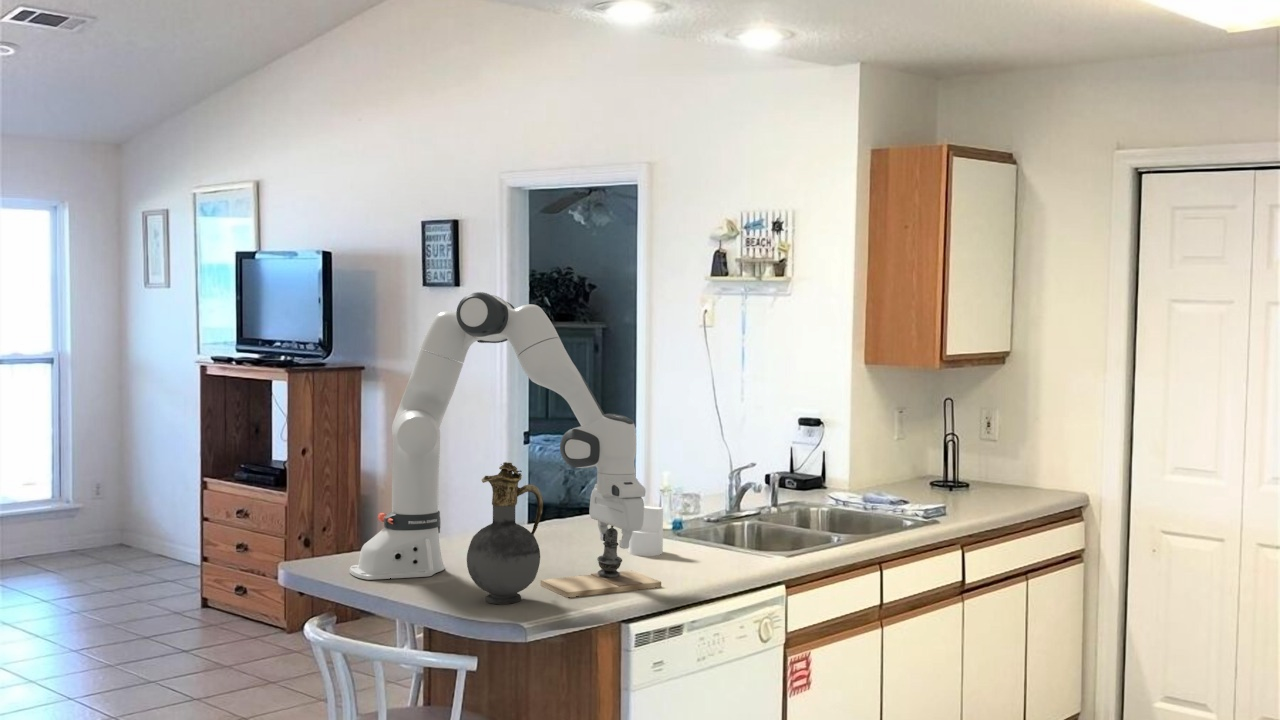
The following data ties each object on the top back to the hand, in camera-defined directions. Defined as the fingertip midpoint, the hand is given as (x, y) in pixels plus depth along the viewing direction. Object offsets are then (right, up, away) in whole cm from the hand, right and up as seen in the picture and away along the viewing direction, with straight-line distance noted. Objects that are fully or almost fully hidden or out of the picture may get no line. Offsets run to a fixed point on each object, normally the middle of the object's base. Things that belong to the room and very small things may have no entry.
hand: (614, 544), depth 287 cm
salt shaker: (-1, -8, +3) cm, 8 cm away
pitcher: (-23, -10, -15) cm, 29 cm away
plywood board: (-3, -9, -1) cm, 10 cm away
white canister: (+7, -8, +39) cm, 41 cm away
